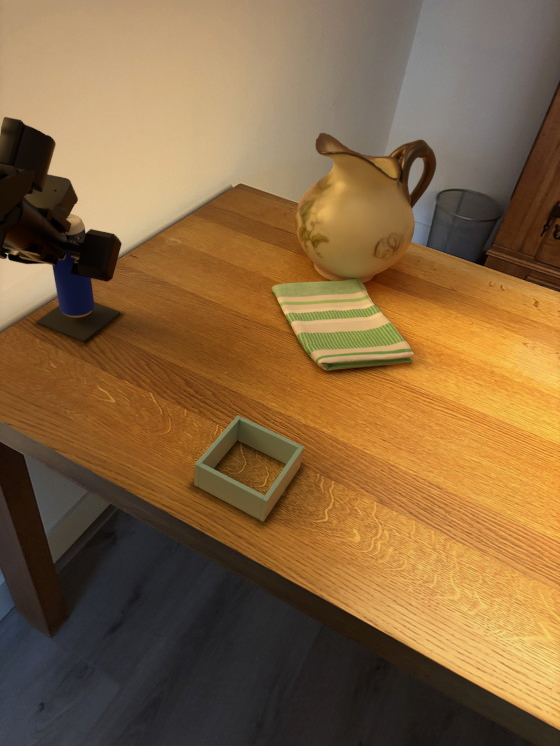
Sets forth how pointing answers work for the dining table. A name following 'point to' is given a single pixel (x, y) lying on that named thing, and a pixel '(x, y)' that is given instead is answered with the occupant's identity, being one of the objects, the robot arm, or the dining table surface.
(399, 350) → the dish towel
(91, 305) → the beverage can
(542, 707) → the dining table surface
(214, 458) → the tray
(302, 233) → the pitcher
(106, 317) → the mat
